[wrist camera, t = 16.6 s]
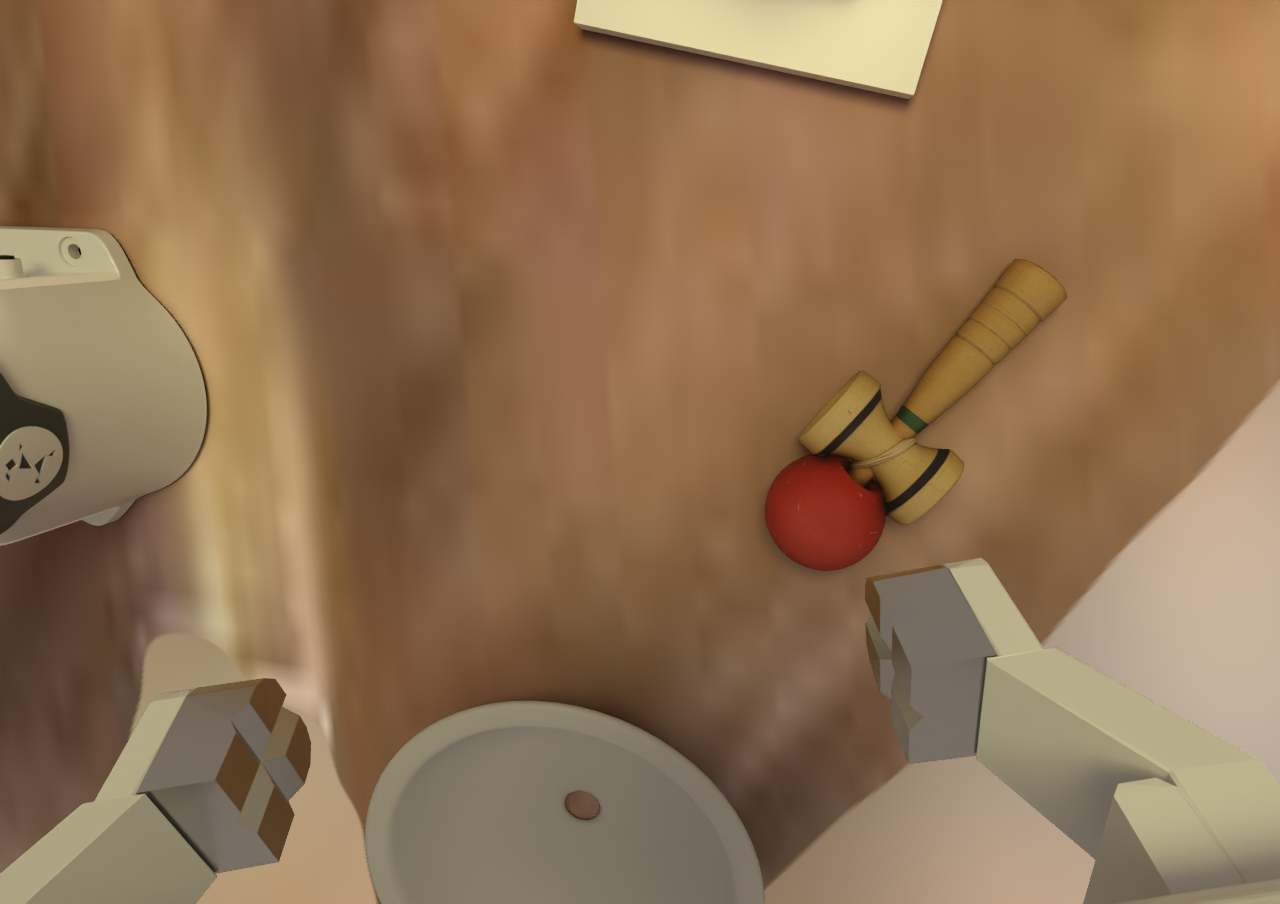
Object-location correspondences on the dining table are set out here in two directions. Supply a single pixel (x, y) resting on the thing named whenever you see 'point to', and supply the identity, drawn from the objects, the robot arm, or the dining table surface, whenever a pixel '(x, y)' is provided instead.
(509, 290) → the dining table surface
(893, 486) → the kendama
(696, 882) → the soup bowl
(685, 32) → the holder
